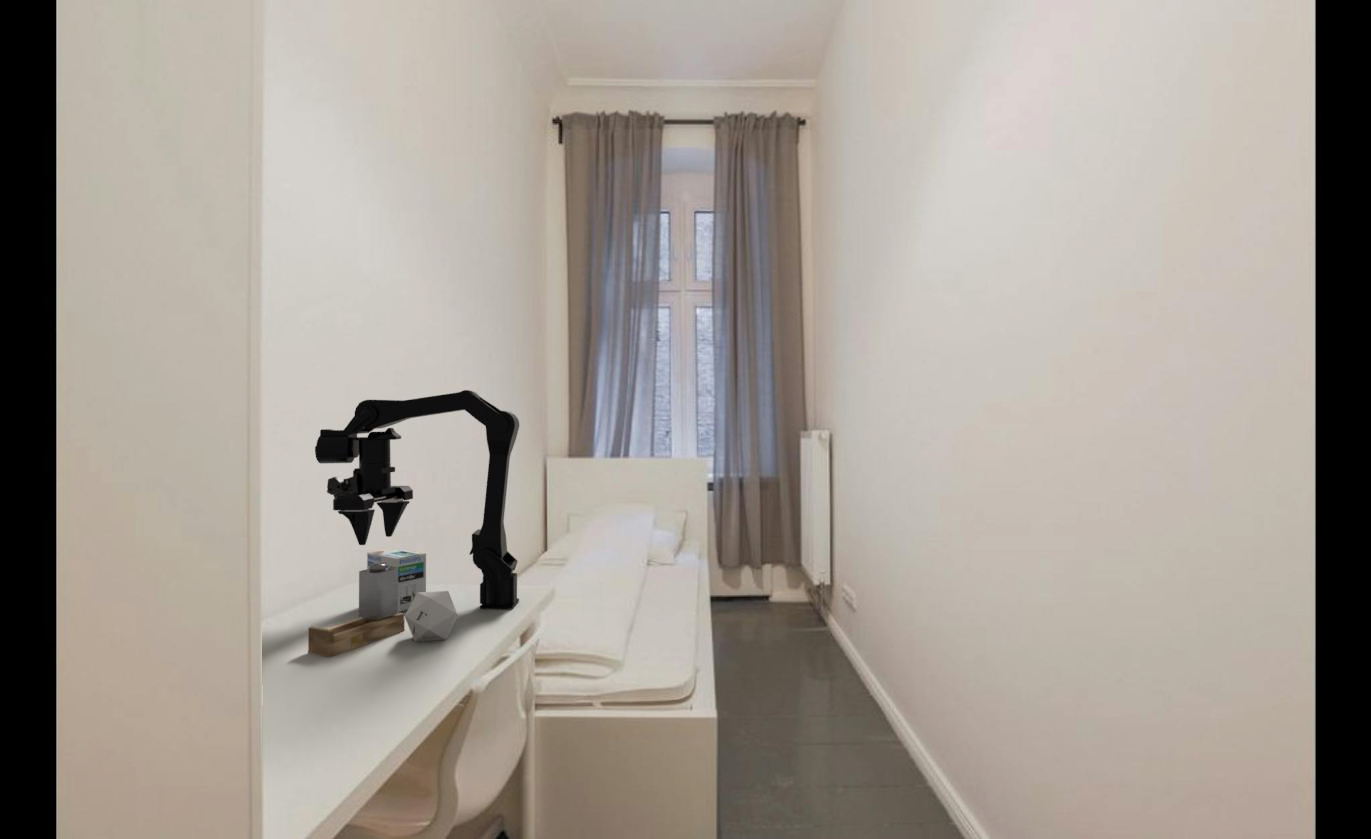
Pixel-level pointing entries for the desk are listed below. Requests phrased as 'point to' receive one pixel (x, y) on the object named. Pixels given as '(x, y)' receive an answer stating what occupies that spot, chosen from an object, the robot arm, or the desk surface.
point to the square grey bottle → (378, 592)
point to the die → (431, 616)
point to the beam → (352, 634)
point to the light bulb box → (404, 572)
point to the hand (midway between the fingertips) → (375, 540)
